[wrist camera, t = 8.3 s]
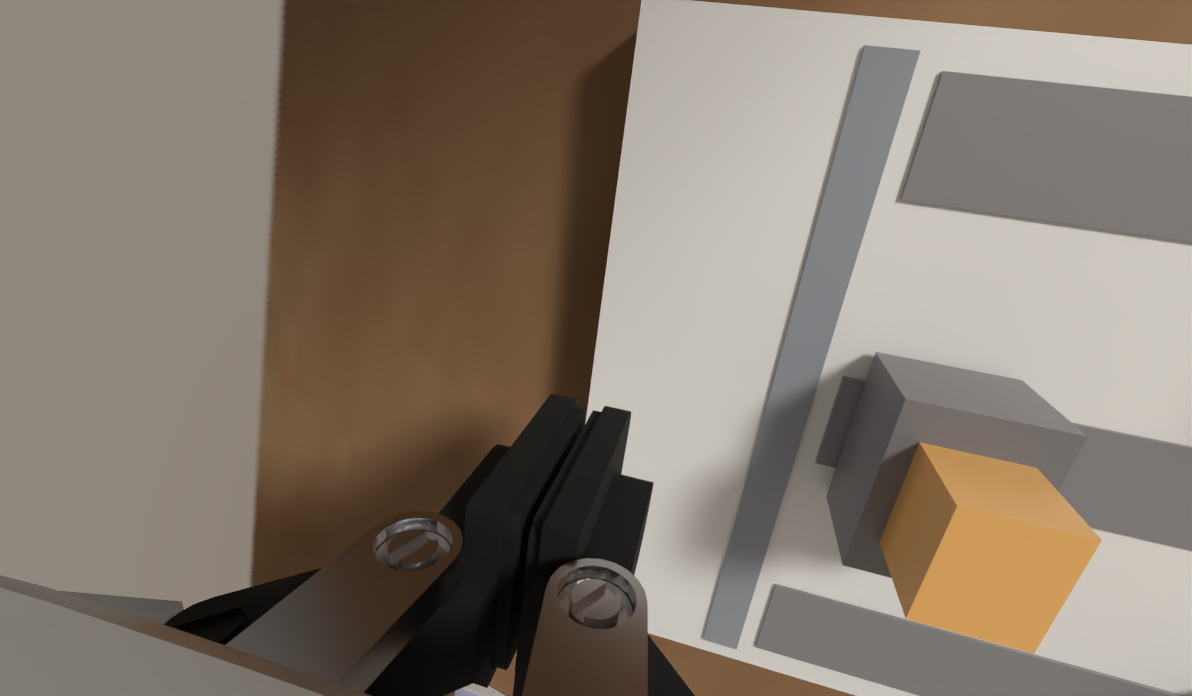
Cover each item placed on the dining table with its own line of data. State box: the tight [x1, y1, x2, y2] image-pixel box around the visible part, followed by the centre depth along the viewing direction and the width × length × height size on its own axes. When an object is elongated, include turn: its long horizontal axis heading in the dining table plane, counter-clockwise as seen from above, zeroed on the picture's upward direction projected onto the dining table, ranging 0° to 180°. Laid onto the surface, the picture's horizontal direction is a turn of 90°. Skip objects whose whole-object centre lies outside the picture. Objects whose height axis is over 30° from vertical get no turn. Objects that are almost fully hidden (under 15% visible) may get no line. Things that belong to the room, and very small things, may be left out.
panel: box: [585, 0, 1192, 696], centre depth 13 cm, size 17×26×2 cm, turn 82°
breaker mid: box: [826, 352, 1102, 654], centre depth 11 cm, size 4×3×4 cm
